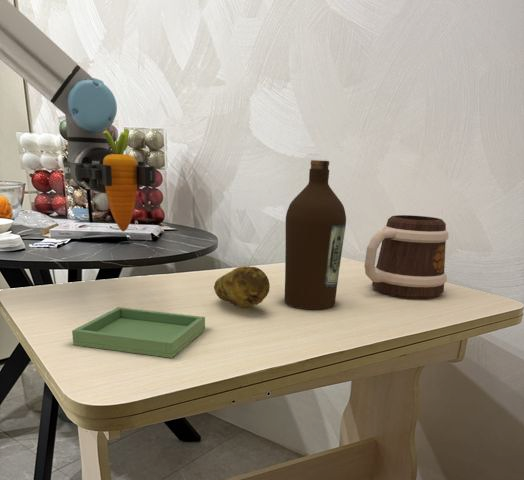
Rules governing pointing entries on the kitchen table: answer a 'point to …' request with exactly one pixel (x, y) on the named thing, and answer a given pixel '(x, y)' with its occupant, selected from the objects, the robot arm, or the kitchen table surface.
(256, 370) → the kitchen table surface
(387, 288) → the mug
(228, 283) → the potato
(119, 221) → the carrot
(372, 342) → the kitchen table surface
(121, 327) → the green tray
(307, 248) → the olive oil
